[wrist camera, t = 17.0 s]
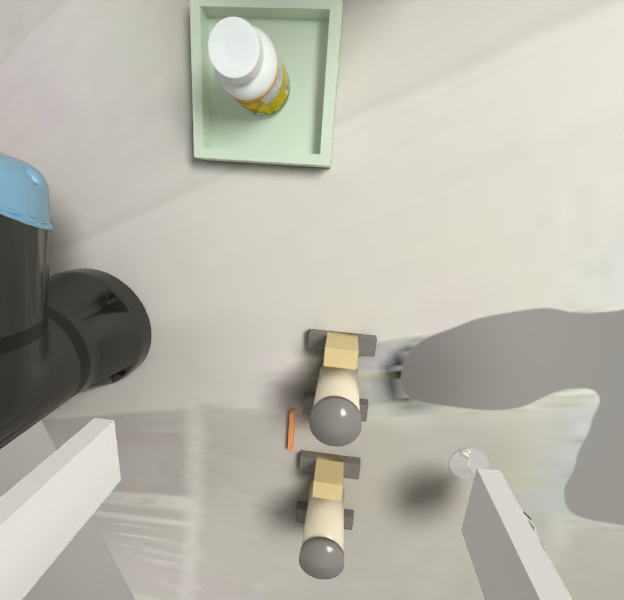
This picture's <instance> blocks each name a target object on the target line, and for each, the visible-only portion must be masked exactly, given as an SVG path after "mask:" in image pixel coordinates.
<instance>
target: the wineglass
mask: <svg viewBox="0 0 624 600" xmlns="http://www.w3.org/2000/svg"><path fill="white" fill-rule="evenodd" d="M449 467H450V470H451V472H452V473H453V474H454V475H455V476H456V477H459V478H461V479H465V480H472V479H474V477H475V473H476V469H477V468H481V469H488V467H489V460H488V458H487V456H486V455H485V454H484V453H483V452H482V451H480V450H478V449H473V448H465V449H462V450H459V451H457V452H456V453H455V454H453V456H452V457H451V458H450V462H449ZM523 513H524V512H523ZM524 514H525V516H526V518H527V520H528V522H529V523H530V525H531V527H532V529H533V531H534V532H535V534H536V536H537V538H538V539H539V541H540V543H541V545H542V547H543V548H544V550H545V552H546V554H547V548H546V546H545V544H544V542H543V541H542V540H541V539H540V538H539V535H538V532H537V529H536V527H535V525H534V523H533V522H532V520H531V518H530V517H529V516H528V515H527V514H526V513H524Z"/></svg>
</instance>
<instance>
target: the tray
mask: <svg viewBox="0 0 624 600" xmlns="http://www.w3.org/2000/svg"><path fill="white" fill-rule="evenodd" d="M342 16H343V1H342V0H190V32H191V68H192V103H193V139H194V157H195V158H198V159H202V160H209V161H225V162H241V163H257V164H273V165H289V166H306V167H322V168H331V158H332V145H333V132H334V119H335V106H336V93H337V80H338V67H339V55H340V42H341V29H342ZM227 17H240V18H242V19H244V20H246V21H247V22H249V23H250V24H251V25H252V26H255V27H257V28H259V29H260V30H262V31H263V32H264V33H265V34H266V35H267V36H268V37H269V39H270V40H271V42H272V43H273V45H274V47H275V49H276V51H277V53H278V55H279V57H280V59H281V61H282V63H283V65H284V67H285V69H286V71H287V74H288V76H289V80H290V96H289V99H288V102H287V104H286V105H285V107H284V108H283V110H282V111H281V112H279V113H278V114H277V115H274V116H271V117H258V116H255V115H253V114H251V113H250V112H249V111H247V110H246V109H245V108H244V107H243V106H242V105H241V104H240V103H238V102H237V101H236V100H235V99H234V98H233V97H232V96H230V95H229V94H228V93H227V92H226V91H225V90H224V89H223V87H222V86H221V85H220V83H219V81H218V79H217V77H216V74H215V71H214V66H213V65H212V63H211V61H210V58H209V54H208V40H209V36H210V33H211V31H212V29H213V28H214V26H215V25H216V24H217V23H218V22H219V21H221V20H222V19H224V18H227Z"/></svg>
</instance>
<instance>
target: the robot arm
mask: <svg viewBox="0 0 624 600" xmlns="http://www.w3.org/2000/svg"><path fill="white" fill-rule="evenodd" d="M50 230H53V224H52V223H51V222H50V206H49V188H48V184H47V182H46V180H45V178H44V176H43V175H42V174H41V173H40V172H39V171H38V170H37V169H36V168H34V167H33V166H31V165H30V164H28V163H26V162H24V161H22V160H19V159H17V158H14V157H11V156H9V155H6V154H3V153H0V449H1V448H2V447H4V446H5V445H7V444H8V443H9V442H11V441H12V440H13V439H15V438H16V437H18V436H19V435H20V434H22V433H23V432H25V431H26V430H27V429H29V428H30V427H32V426H33V425H34V424H36V423H37V422H38V421H40V420H41V419H43V418H44V417H45V416H47V415H48V414H50V413H51V412H52V411H54V410H55V409H56V408H58V407H59V406H61V405H62V404H63V403H65V402H66V401H67V400H69V399H70V398H72V397H73V396H75V395H76V394H77V393H80V392H84V391H87V390H91V389H94V388H98V387H101V386H105V385H108V384H111V383H114V382H117V381H119V380H121V379H123V378H124V377H126V376H127V375H128V374H130V373H131V372H132V371H134V370H135V369H136V368H137V367H139V366H140V364H141V363H142V362H143V361H144V359H145V358H146V356H147V354H148V351H149V348H150V344H151V327H150V322H149V318H148V315H147V313H146V310H145V308H144V306H143V305H142V303H141V301H140V300H139V298H138V297H137V296H136V295H135V293H134V292H133V291H132V290H131V289H130V288H129V287H128V286H127V285H125V284H124V283H123V282H122V281H120V280H119V279H117V278H115V277H114V276H112V275H110V274H107V273H105V272H102V271H99V270H94V269H75V270H71V271H67V272H63V273H59V274H56V275H53V276H51V277H49V251H50ZM120 481H121V476H120V467H119V458H118V449H117V440H116V431H115V423H114V420H108V419H100V418H94V419H93V420H92V421H91V422H89V423H88V424H87V425H86V426H85V427H84V428H82V429H81V430H80V431H79V432H78V433H76V434H75V435H74V436H73V437H72V438H70V439H69V440H68V441H67V442H66V443H65V444H63V445H62V446H61V447H60V448H59V449H57V450H56V451H55V452H54V453H53V454H51V455H50V456H49V457H48V458H47V459H46V460H44V461H43V462H42V463H41V464H40V465H39V466H37V467H36V468H35V469H34V470H33V471H31V472H30V473H29V474H28V475H27V476H25V477H24V478H23V479H22V480H21V481H19V482H18V483H17V484H16V485H15V486H13V487H12V488H11V489H10V490H9V491H8V492H6V493H5V494H4V495H3V496H2V497H0V600H22V599H23V598H24V597H25V595H26V594H27V593H28V592H29V591H30V589H31V588H32V587H33V586H34V584H35V583H36V582H37V581H38V580H39V578H40V577H41V576H42V575H43V574H44V572H45V571H46V570H47V569H48V568H49V566H50V565H51V564H52V563H53V562H54V560H55V559H56V558H57V557H58V555H59V554H60V553H61V552H62V551H63V549H64V548H65V547H66V546H67V545H68V543H69V542H70V541H71V540H72V538H73V537H74V536H75V535H76V534H77V533H78V531H79V530H80V529H81V528H82V526H83V525H84V524H85V523H86V521H87V520H88V519H89V518H90V517H91V516H92V514H93V513H94V512H95V511H96V510H97V508H98V507H99V506H100V505H101V504H102V502H103V501H104V500H105V499H106V497H107V496H108V495H109V494H110V493H111V491H112V490H113V489H114V488H115V487H116V485H117V484H118V483H119V482H120ZM462 533H463V536H464V539H465V542H466V545H467V548H468V551H469V554H470V557H471V559H472V562H473V565H474V568H475V571H476V574H477V577H478V580H479V583H480V586H481V589H482V592H483V595H484V597H485V600H572V598H571V596H570V595H569V593H568V591H567V589H566V588H565V586H564V584H563V582H562V580H561V579H560V577H559V575H558V573H557V571H556V570H555V568H554V566H553V564H552V563H551V561H550V559H549V557H548V555H547V554H546V552H545V550H544V548H543V547H542V545H541V543H540V541H539V539H538V538H537V536H536V534H535V532H534V531H533V529H532V527H531V525H530V523H529V522H528V520H527V518H526V516H525V514H524V513H523V511H522V509H521V507H520V506H519V504H518V502H517V500H516V498H515V497H514V495H513V493H512V491H511V490H510V488H509V486H508V484H507V482H506V481H505V479H504V477H503V475H502V473H501V472H500V471H496V470H488V469H481V468H477V469H476V473H475V477H474V481H473V486H472V490H471V494H470V498H469V502H468V506H467V510H466V514H465V518H464V522H463V526H462Z"/></svg>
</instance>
